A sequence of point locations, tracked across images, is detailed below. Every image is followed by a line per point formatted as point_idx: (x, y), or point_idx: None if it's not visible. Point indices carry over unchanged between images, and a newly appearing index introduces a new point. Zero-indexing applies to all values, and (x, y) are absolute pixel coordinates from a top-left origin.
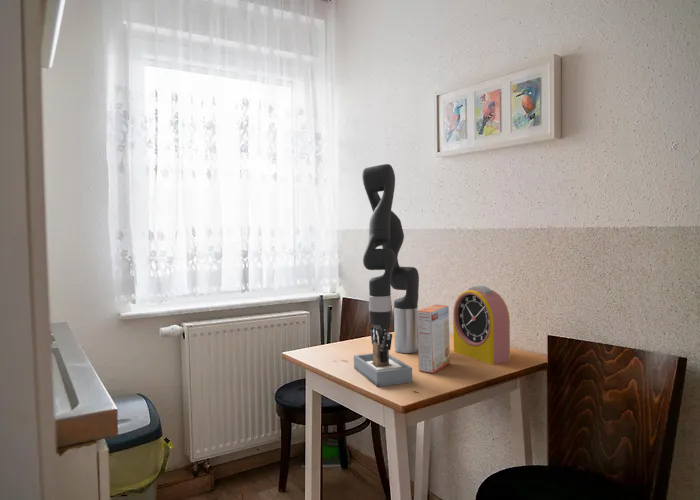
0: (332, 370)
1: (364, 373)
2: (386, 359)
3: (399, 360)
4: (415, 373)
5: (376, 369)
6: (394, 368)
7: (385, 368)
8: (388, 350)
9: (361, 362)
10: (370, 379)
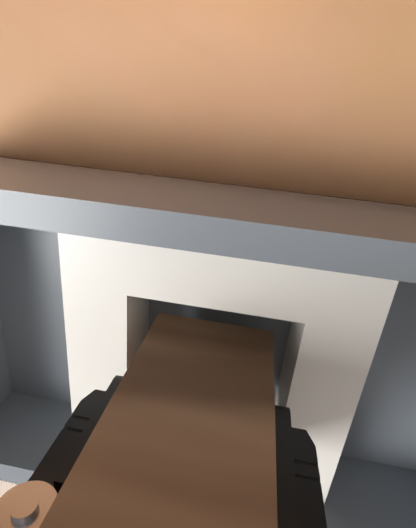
0: (16, 485)
1: None
2: (313, 451)
3: (279, 231)
4: (354, 34)
5: (322, 482)
6: (374, 341)
7: (345, 421)
8: (275, 502)
9: None
10: None
